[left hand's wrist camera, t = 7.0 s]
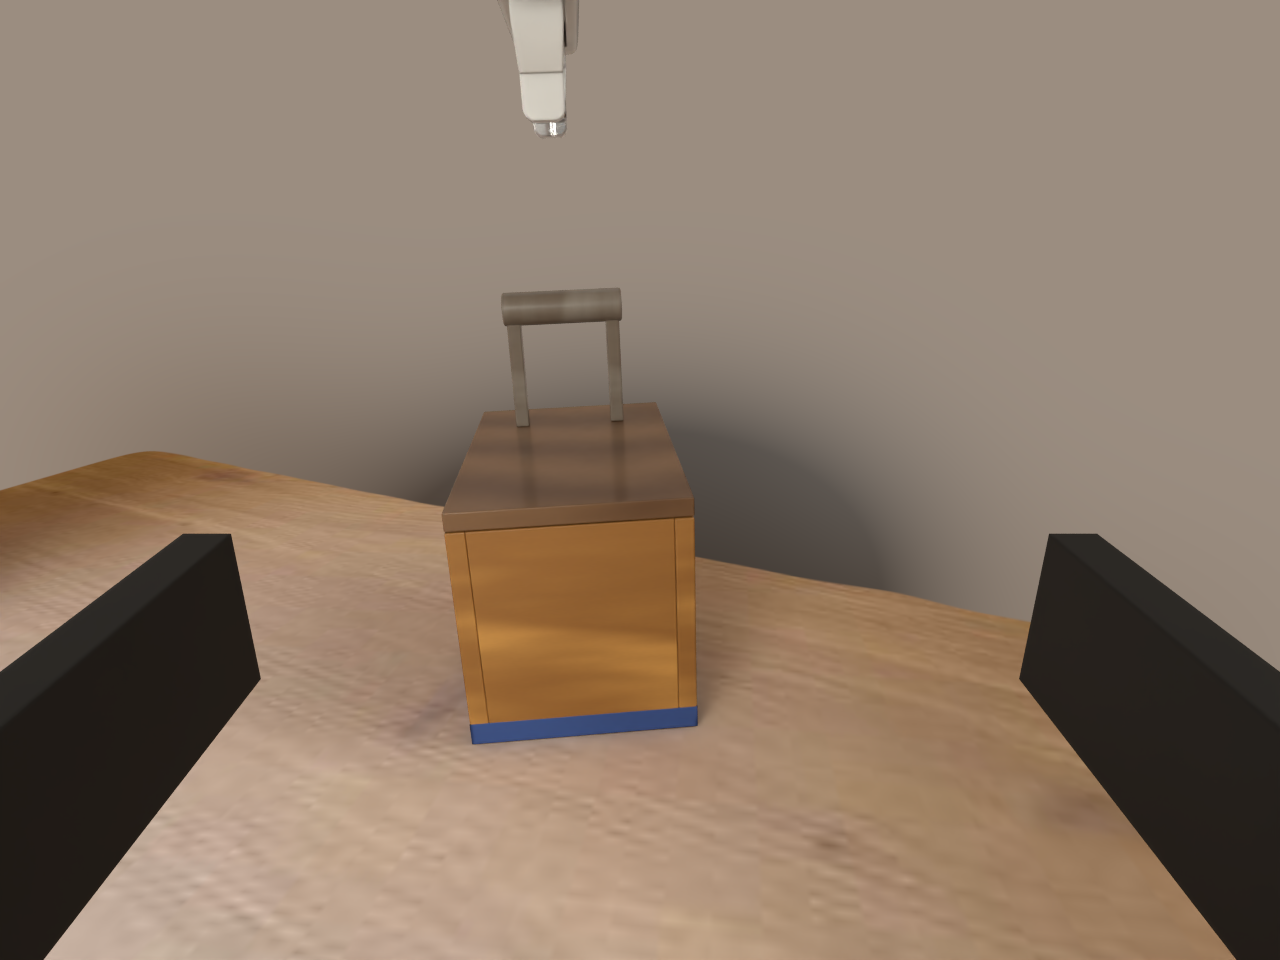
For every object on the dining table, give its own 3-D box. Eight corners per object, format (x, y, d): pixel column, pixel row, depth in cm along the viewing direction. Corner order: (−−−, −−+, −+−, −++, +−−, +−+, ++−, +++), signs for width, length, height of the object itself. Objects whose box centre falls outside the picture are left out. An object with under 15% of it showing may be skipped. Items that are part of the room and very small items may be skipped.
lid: (485, 425, 46) (470, 287, 43) (656, 415, 47) (652, 279, 44) (443, 532, 31) (416, 334, 29) (694, 516, 32) (692, 320, 29)
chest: (501, 588, 49) (483, 430, 45) (662, 577, 50) (658, 420, 46) (472, 744, 35) (443, 533, 31) (697, 725, 36) (694, 517, 32)
